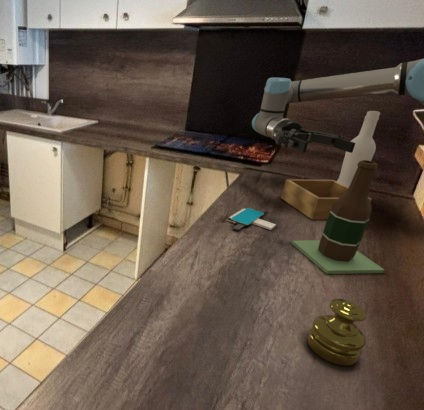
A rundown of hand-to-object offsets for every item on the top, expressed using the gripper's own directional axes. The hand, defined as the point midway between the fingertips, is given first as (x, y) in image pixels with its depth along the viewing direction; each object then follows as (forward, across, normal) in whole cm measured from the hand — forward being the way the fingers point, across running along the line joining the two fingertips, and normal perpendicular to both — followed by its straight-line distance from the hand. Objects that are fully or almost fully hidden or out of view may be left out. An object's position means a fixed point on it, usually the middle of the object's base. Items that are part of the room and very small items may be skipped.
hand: (329, 147), depth 98 cm
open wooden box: (-11, -12, -23) cm, 29 cm away
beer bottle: (+19, +5, -23) cm, 30 cm away
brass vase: (+48, +27, -24) cm, 60 cm away
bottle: (-22, -29, -24) cm, 44 cm away
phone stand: (-1, +16, -24) cm, 28 cm away
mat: (+19, +5, -23) cm, 30 cm away
